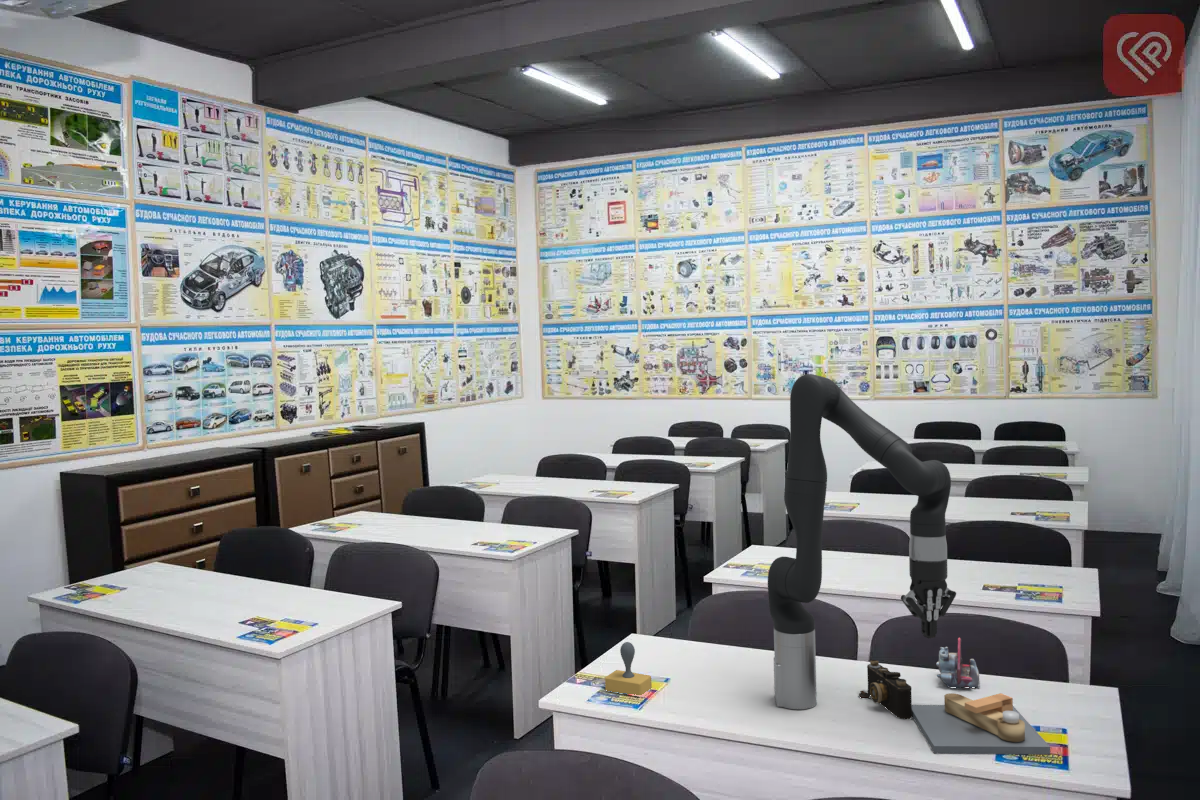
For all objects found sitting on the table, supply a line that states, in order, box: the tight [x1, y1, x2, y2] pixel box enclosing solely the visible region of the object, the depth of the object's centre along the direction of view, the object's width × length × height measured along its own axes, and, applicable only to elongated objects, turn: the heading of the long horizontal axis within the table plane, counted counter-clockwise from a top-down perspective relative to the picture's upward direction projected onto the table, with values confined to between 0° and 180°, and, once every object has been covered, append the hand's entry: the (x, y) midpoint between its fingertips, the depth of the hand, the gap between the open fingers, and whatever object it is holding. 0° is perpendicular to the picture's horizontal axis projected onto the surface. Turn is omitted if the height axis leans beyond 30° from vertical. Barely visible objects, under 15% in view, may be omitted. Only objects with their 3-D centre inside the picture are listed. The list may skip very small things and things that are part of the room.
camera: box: [858, 659, 913, 720], centre depth 204 cm, size 16×7×8 cm, turn 10°
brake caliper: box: [936, 637, 980, 689], centre depth 216 cm, size 11×11×12 cm
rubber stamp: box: [604, 641, 653, 695], centre depth 218 cm, size 10×6×12 cm, turn 60°
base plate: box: [912, 704, 1051, 755], centre depth 188 cm, size 22×21×6 cm
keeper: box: [965, 692, 1014, 713], centre depth 187 cm, size 10×3×6 cm, turn 115°
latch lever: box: [943, 692, 1025, 742], centre depth 188 cm, size 20×5×3 cm, turn 24°
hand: (929, 636), depth 191 cm, fingers closed
